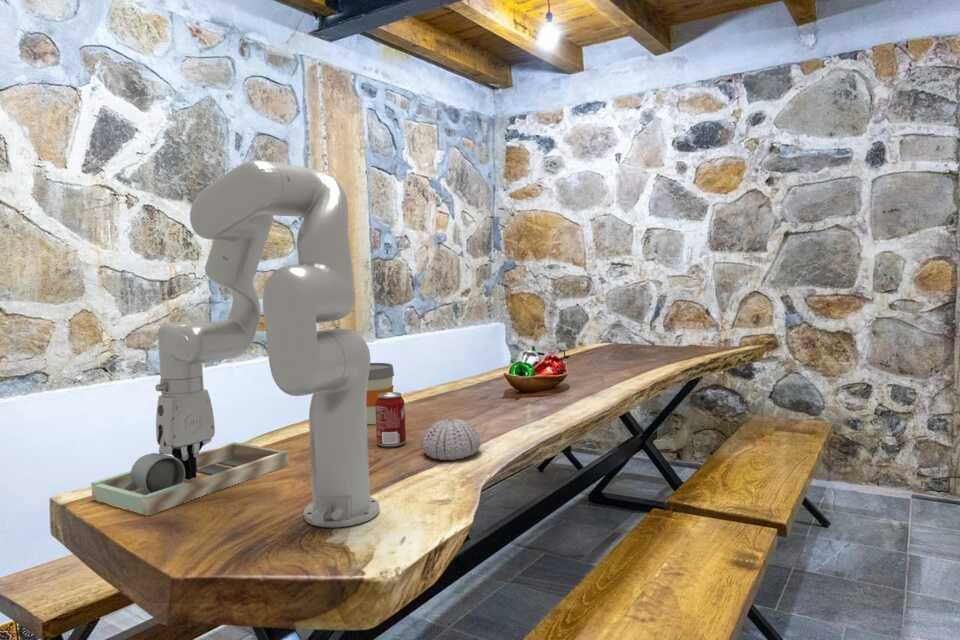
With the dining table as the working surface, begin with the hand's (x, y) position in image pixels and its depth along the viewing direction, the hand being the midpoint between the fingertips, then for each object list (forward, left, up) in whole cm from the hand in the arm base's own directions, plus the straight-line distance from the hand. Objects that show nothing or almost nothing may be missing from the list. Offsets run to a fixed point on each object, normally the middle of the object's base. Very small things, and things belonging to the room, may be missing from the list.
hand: (187, 477), depth 130 cm
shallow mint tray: (-9, +4, -1) cm, 10 cm away
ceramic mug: (-7, +4, -2) cm, 8 cm away
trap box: (+2, -1, -1) cm, 2 cm away
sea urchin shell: (+20, -50, -2) cm, 54 cm away
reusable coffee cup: (+52, -25, -2) cm, 57 cm away
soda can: (+28, -35, -2) cm, 45 cm away
